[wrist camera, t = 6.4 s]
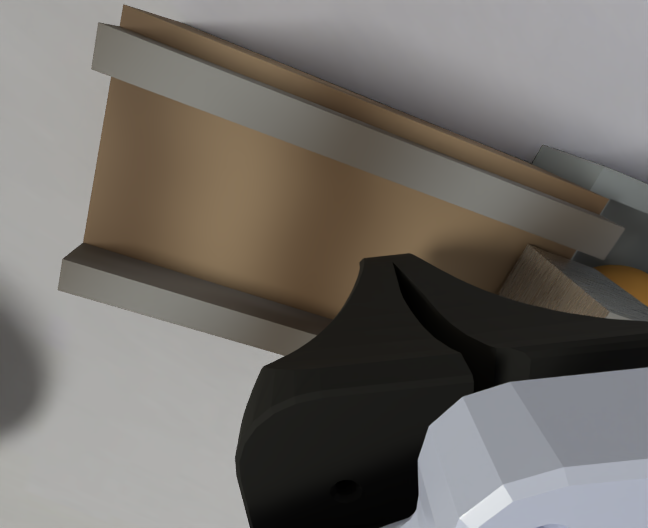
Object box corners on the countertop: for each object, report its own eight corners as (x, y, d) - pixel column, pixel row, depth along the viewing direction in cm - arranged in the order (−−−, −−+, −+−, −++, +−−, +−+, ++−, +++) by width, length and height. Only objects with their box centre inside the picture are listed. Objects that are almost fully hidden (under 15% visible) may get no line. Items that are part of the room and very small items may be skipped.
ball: (635, 259, 19) (728, 311, 16) (583, 333, 21) (657, 395, 17) (569, 237, 18) (655, 289, 14) (518, 318, 19) (585, 383, 16)
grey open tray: (736, 224, 19) (839, 263, 15) (604, 395, 22) (660, 459, 19) (542, 144, 17) (604, 166, 14) (433, 341, 21) (459, 400, 17)
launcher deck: (531, 164, 18) (636, 211, 12) (440, 327, 21) (489, 428, 15) (179, 21, 15) (102, -3, 10) (134, 230, 18) (55, 304, 13)
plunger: (595, 268, 14) (698, 343, 10) (527, 369, 15) (595, 465, 12) (528, 243, 13) (609, 312, 10) (464, 349, 15) (515, 443, 11)
